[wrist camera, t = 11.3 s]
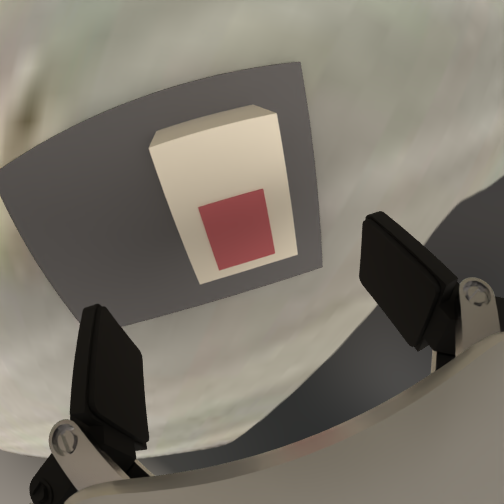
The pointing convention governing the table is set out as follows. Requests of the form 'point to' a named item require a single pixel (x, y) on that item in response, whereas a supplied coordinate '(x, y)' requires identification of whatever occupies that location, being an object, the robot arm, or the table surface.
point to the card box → (227, 190)
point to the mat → (150, 199)
